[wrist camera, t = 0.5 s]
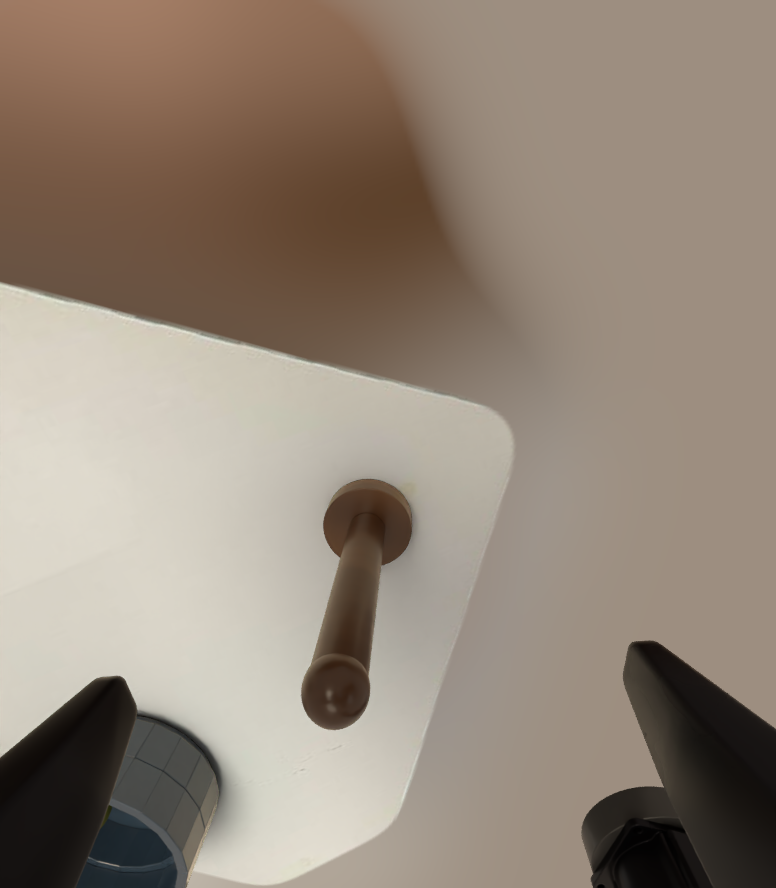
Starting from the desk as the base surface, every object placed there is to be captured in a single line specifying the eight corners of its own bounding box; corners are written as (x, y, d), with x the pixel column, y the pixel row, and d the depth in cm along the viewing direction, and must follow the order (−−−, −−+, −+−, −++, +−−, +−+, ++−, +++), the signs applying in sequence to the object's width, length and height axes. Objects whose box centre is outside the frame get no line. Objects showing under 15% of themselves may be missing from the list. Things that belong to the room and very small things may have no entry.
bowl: (210, 844, 32) (175, 939, 27) (55, 808, 32) (-8, 898, 27) (233, 732, 29) (198, 818, 24) (59, 689, 28) (-12, 768, 23)
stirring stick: (398, 563, 24) (387, 793, 13) (319, 542, 24) (238, 757, 13) (421, 491, 23) (431, 678, 12) (337, 469, 23) (264, 636, 11)
